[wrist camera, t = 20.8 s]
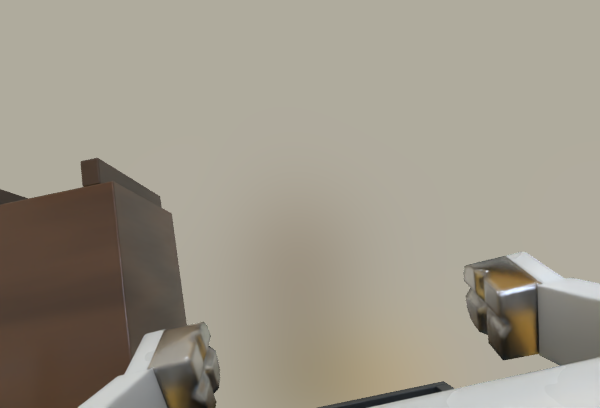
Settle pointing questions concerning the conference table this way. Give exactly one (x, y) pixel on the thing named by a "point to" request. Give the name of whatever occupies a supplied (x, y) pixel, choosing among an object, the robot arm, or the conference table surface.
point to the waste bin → (393, 396)
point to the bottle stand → (82, 286)
